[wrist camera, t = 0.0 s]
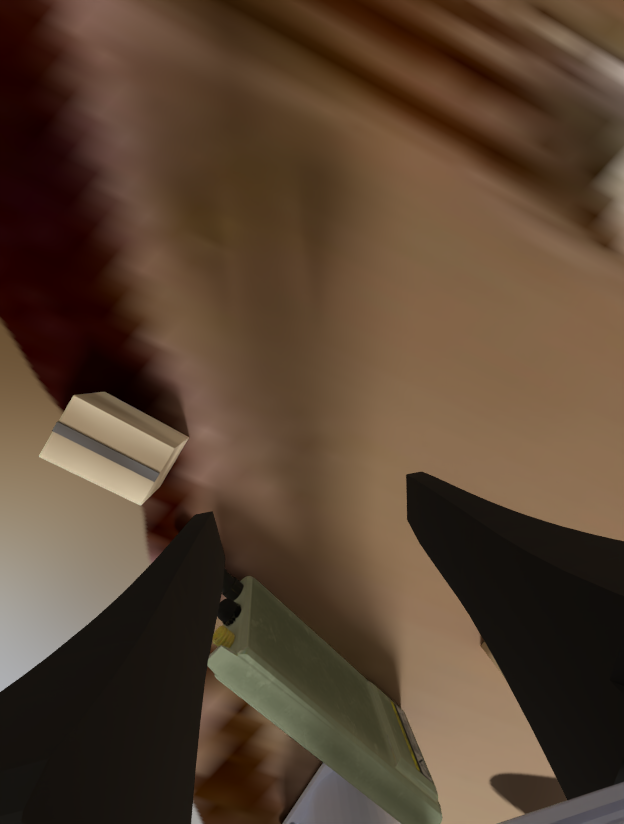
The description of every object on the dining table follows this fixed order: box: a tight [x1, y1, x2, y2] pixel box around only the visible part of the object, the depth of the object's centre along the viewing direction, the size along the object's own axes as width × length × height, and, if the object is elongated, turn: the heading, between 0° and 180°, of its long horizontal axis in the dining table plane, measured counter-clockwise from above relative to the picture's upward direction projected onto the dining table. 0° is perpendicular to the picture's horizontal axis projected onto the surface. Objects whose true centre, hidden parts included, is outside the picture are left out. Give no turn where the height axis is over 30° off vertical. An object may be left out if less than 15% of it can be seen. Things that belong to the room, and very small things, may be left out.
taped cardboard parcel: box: [39, 392, 505, 678], centre depth 21 cm, size 4×42×3 cm, turn 58°
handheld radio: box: [207, 568, 442, 824], centre depth 20 cm, size 7×3×25 cm
